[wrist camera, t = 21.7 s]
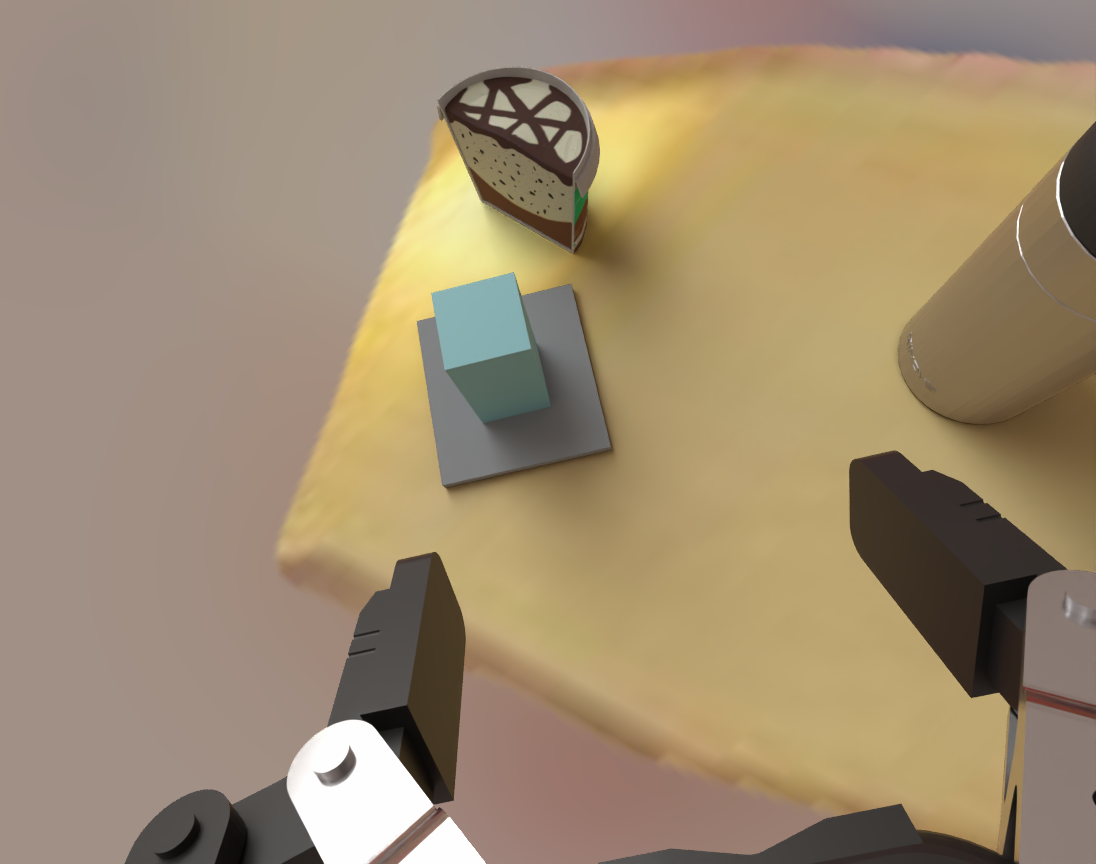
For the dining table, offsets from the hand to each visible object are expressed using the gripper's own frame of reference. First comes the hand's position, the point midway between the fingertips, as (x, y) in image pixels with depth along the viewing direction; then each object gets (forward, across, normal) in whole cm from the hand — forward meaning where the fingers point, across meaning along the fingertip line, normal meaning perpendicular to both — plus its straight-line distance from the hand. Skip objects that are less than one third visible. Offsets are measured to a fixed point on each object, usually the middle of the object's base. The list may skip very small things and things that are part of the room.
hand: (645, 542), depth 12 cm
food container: (+44, -1, 0) cm, 44 cm away
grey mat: (+34, +5, +10) cm, 35 cm away
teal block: (+33, +5, +10) cm, 34 cm away
